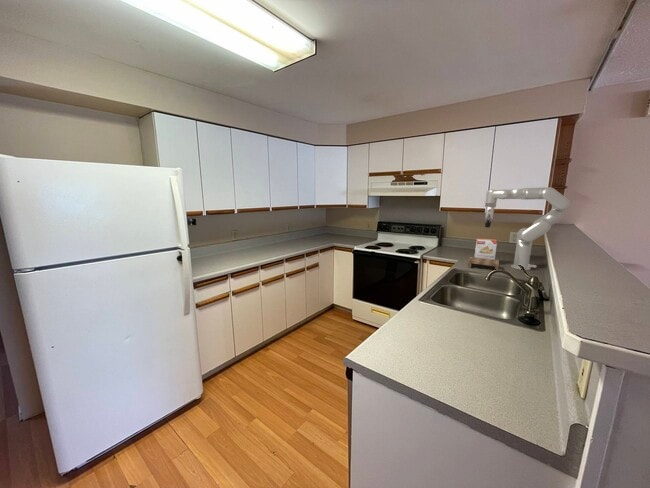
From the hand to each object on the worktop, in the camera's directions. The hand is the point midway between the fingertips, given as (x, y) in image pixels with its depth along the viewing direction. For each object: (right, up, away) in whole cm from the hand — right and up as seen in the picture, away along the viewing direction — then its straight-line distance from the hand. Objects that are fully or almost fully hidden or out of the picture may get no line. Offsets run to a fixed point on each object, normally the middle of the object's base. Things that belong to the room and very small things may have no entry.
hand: (487, 226), depth 215 cm
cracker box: (0, -31, +5) cm, 32 cm away
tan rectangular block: (-7, -33, -5) cm, 34 cm away
